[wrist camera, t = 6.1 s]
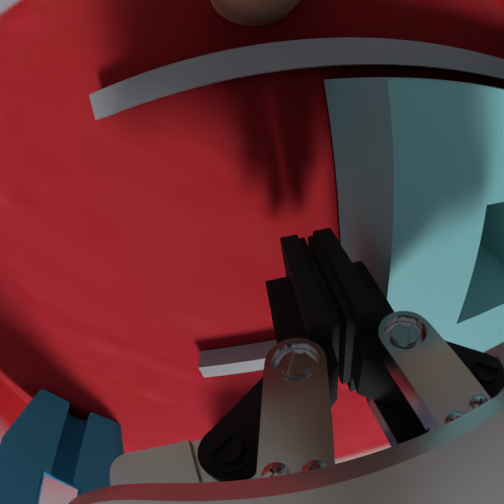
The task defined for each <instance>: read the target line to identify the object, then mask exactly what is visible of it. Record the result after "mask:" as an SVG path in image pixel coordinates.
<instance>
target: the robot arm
mask: <svg viewBox="0 0 504 504" xmlns="http://www.w3.org/2000/svg"><path fill="white" fill-rule="evenodd" d="M280 240H281V247H282V253H283V259H284V265H285V271H286V277H284V278H279V279H274V280H269V281H266V286H267V292H268V297H269V303H270V309H271V314H272V320H273V325H274V331H275V336H276V342H277V344H276V345H275V346H274V347H273V348H271V349H270V351H269V352H268V354H267V355H266V358H265V362H264V374H263V377H262V378H261V380H260V381H259V382H258V383H257V384H256V385H255V386H254V387H253V388H252V389H251V390H250V391H249V392H248V393H247V394H246V395H245V396H244V397H243V398H242V399H241V400H240V401H239V402H238V403H237V405H236V406H235V407H234V408H233V409H232V410H231V411H230V412H229V413H228V414H227V415H225V416H224V417H223V418H222V419H221V420H220V421H219V422H218V423H217V424H216V425H215V426H214V427H213V428H212V429H211V430H210V431H209V432H208V433H207V434H206V435H205V436H204V437H203V439H202V440H198V441H194V442H190V441H189V440H186V441H182V442H178V443H174V444H170V445H166V446H161V447H156V448H151V449H146V450H141V451H136V452H130V453H125V454H123V455H120V456H119V457H117V458H116V459H115V460H114V461H113V463H112V465H111V467H110V485H111V486H108V487H102V488H98V489H95V490H92V491H88V492H86V493H84V494H81V495H79V496H77V497H76V498H74V499H73V500H72V501H71V502H69V504H504V352H501V353H498V354H497V356H496V357H494V356H492V355H489V354H487V353H483V352H480V351H477V350H474V349H470V348H467V347H464V346H461V345H458V344H455V343H451V342H448V341H445V340H444V339H443V338H442V337H441V336H440V335H439V333H438V332H437V331H436V330H435V329H434V328H433V327H432V325H431V324H430V323H429V322H428V321H427V320H426V319H425V318H424V317H422V316H421V315H419V314H417V313H415V312H410V311H398V312H394V310H393V309H392V307H391V305H390V304H389V302H388V301H387V299H386V297H385V296H384V294H383V293H382V291H381V289H380V288H379V286H378V285H377V283H376V281H375V280H374V278H373V277H372V275H371V274H370V272H369V271H368V269H367V268H366V266H365V265H364V263H363V262H362V261H357V262H353V263H352V262H351V260H350V258H349V257H348V255H347V253H346V252H345V250H344V249H343V247H342V246H341V244H340V242H339V241H338V239H337V238H336V236H335V235H334V233H333V231H332V230H331V229H330V228H327V229H322V230H317V231H314V232H313V236H309V237H308V244H309V247H308V245H307V243H306V240H305V238H298V236H297V235H292V236H287V237H282V238H280ZM338 375H339V379H340V381H341V383H342V384H344V383H347V384H348V387H349V390H350V391H354V390H357V393H358V394H360V395H362V396H365V397H366V399H367V402H368V405H369V407H370V408H371V410H372V412H373V414H374V416H375V417H376V419H377V421H378V423H379V425H380V426H381V428H382V430H383V432H384V434H385V436H386V437H387V439H388V441H389V443H390V445H391V447H390V448H387V449H384V450H382V451H379V452H376V453H372V454H369V455H366V456H363V457H360V458H356V459H353V460H349V461H346V462H342V463H338V464H335V460H334V442H333V427H332V414H331V407H332V405H333V404H334V402H335V401H336V400H337V388H338Z"/></svg>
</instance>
